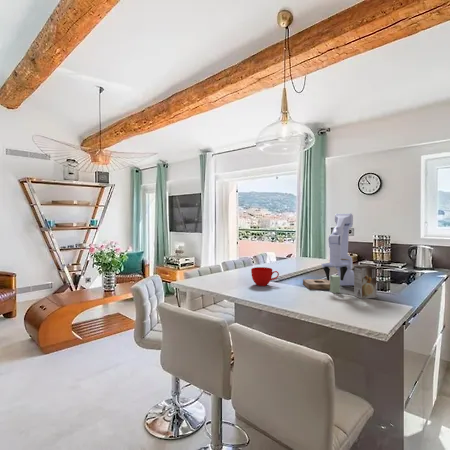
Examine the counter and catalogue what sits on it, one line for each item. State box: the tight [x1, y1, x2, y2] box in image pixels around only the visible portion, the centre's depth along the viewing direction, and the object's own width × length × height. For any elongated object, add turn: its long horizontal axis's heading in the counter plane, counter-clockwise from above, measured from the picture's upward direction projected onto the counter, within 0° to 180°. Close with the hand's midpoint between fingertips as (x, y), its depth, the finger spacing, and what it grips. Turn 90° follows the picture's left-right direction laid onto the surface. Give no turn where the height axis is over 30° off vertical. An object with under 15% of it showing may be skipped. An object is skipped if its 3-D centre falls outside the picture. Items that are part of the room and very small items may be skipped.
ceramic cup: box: [250, 266, 280, 287], centre depth 193 cm, size 13×17×10 cm
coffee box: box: [353, 265, 377, 300], centre depth 164 cm, size 9×6×16 cm
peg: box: [329, 274, 341, 294], centre depth 175 cm, size 4×4×9 cm
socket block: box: [302, 278, 330, 290], centre depth 188 cm, size 16×14×3 cm
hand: (334, 280), depth 175 cm, fingers open, 7 cm apart
